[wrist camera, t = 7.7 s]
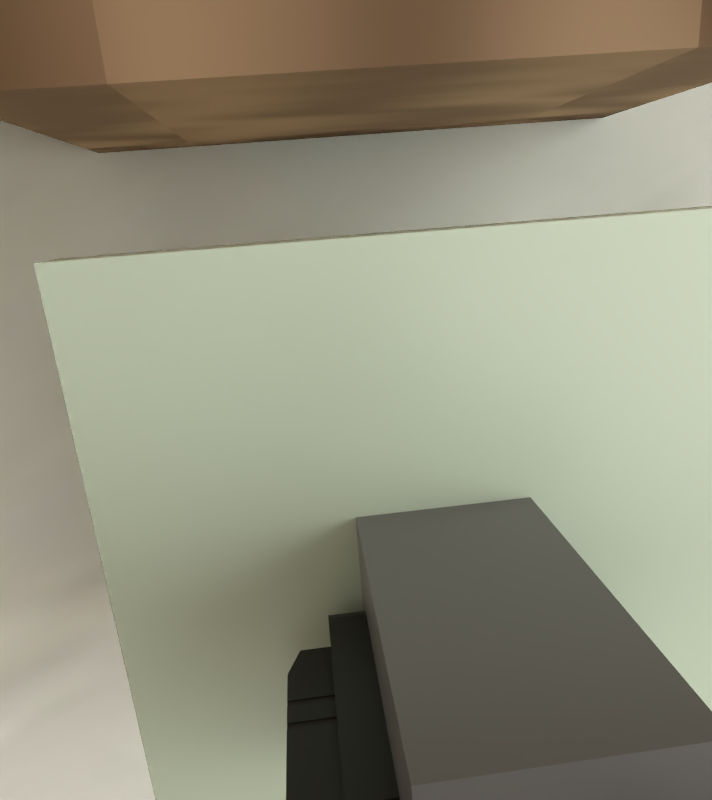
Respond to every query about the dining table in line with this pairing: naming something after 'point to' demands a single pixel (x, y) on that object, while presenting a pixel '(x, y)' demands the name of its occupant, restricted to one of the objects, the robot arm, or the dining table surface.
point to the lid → (409, 496)
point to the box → (334, 66)
